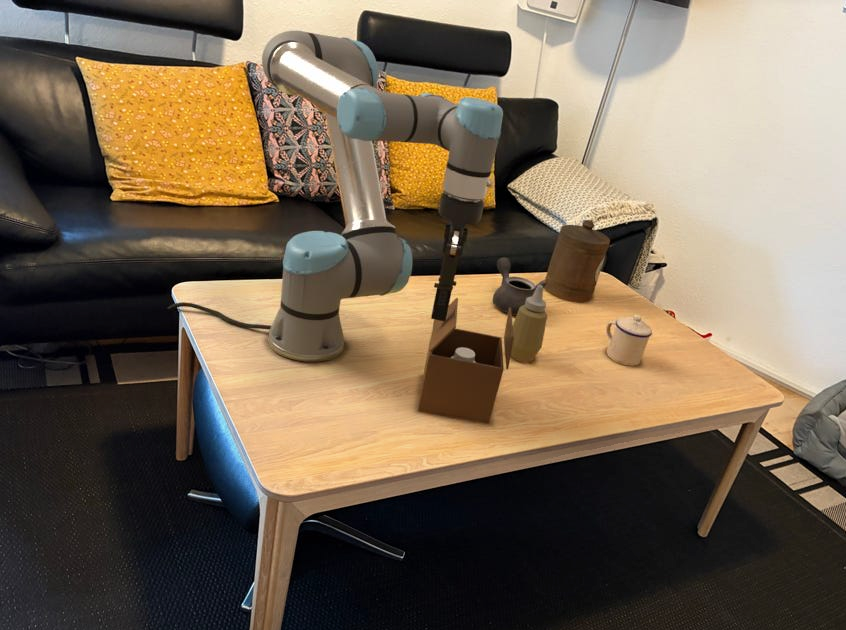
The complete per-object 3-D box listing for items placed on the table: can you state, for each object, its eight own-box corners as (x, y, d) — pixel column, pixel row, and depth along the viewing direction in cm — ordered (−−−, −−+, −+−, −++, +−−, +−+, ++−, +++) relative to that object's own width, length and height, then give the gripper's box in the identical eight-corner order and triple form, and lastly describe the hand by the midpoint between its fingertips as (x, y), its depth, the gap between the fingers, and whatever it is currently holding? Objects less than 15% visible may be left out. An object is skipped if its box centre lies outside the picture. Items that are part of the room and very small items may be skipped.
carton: (417, 411, 128) (436, 321, 119) (422, 376, 140) (439, 293, 131) (493, 424, 130) (517, 337, 121) (492, 389, 141) (513, 307, 132)
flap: (431, 352, 122) (429, 351, 122) (435, 321, 134) (433, 320, 133) (456, 327, 120) (454, 326, 120) (458, 298, 131) (456, 297, 131)
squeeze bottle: (535, 368, 154) (556, 297, 145) (501, 359, 154) (520, 287, 146) (539, 353, 161) (559, 285, 152) (506, 344, 161) (525, 275, 153)
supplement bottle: (472, 403, 134) (483, 359, 129) (446, 404, 132) (456, 359, 127) (463, 388, 138) (473, 345, 133) (437, 388, 136) (447, 344, 131)
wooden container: (600, 303, 198) (624, 232, 187) (557, 301, 191) (578, 228, 181) (577, 281, 209) (598, 214, 199) (535, 279, 203) (554, 209, 193)
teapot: (553, 316, 182) (564, 282, 177) (509, 321, 173) (518, 286, 168) (512, 286, 194) (521, 254, 190) (469, 289, 185) (477, 255, 181)
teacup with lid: (647, 363, 169) (663, 322, 163) (625, 369, 163) (640, 327, 158) (612, 340, 176) (626, 300, 171) (589, 345, 171) (603, 304, 165)
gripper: (485, 210, 110) (456, 337, 121) (484, 190, 121) (459, 308, 132) (439, 201, 109) (415, 329, 120) (443, 181, 120) (421, 300, 131)
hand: (438, 318), depth 126 cm, fingers closed
